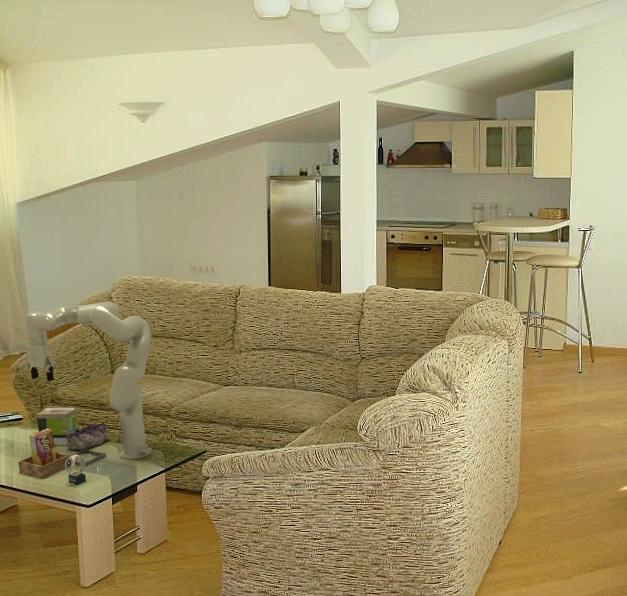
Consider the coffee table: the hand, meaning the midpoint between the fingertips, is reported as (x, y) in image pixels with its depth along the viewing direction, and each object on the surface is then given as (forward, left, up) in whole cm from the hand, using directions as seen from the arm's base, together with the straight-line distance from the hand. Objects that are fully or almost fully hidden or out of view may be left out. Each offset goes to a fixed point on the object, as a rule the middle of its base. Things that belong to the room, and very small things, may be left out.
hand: (42, 379), depth 402 cm
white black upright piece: (-36, +19, -34) cm, 53 cm away
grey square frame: (-20, 0, -33) cm, 39 cm away
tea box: (+8, -12, -34) cm, 37 cm away
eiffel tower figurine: (+43, -33, -34) cm, 64 cm away
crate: (-13, +15, -33) cm, 39 cm away
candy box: (-13, +15, -32) cm, 38 cm away
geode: (-8, -14, -34) cm, 38 cm away
